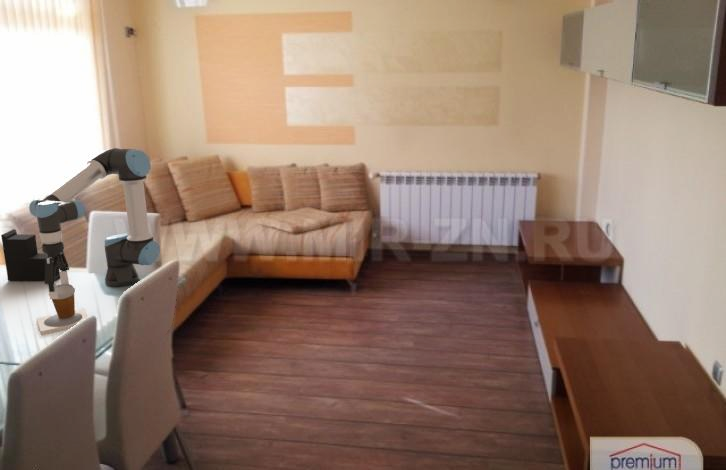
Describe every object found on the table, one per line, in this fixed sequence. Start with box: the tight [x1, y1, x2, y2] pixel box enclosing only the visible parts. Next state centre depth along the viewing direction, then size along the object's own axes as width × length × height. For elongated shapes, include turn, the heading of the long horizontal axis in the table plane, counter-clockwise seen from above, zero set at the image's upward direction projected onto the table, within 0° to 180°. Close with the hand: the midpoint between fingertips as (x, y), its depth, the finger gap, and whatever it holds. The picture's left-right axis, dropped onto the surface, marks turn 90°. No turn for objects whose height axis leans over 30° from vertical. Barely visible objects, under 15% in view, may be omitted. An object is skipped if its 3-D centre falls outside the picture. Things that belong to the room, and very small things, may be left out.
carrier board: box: [35, 308, 89, 335], centre depth 242 cm, size 18×15×2 cm
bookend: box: [0, 229, 61, 282], centre depth 291 cm, size 23×11×24 cm, turn 90°
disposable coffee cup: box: [48, 283, 76, 319], centre depth 242 cm, size 10×10×12 cm
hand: (59, 292), depth 239 cm, fingers open, 13 cm apart
